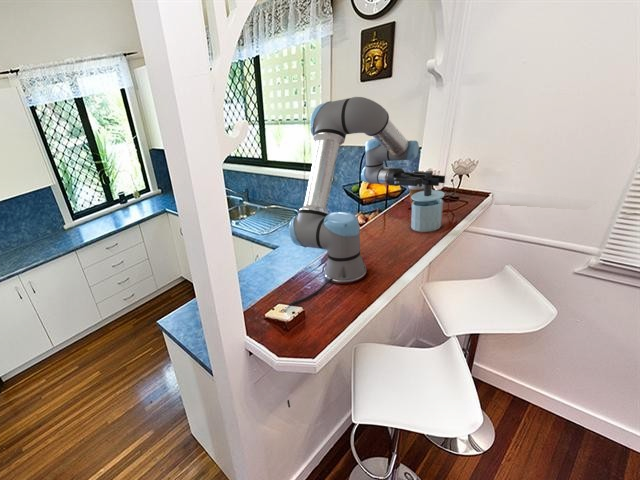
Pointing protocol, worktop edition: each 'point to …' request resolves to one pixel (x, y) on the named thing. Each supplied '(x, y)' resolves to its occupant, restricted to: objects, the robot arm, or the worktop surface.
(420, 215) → the light blue pot
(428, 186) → the lid
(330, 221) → the robot arm
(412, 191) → the disposable coffee cup
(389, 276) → the worktop surface
